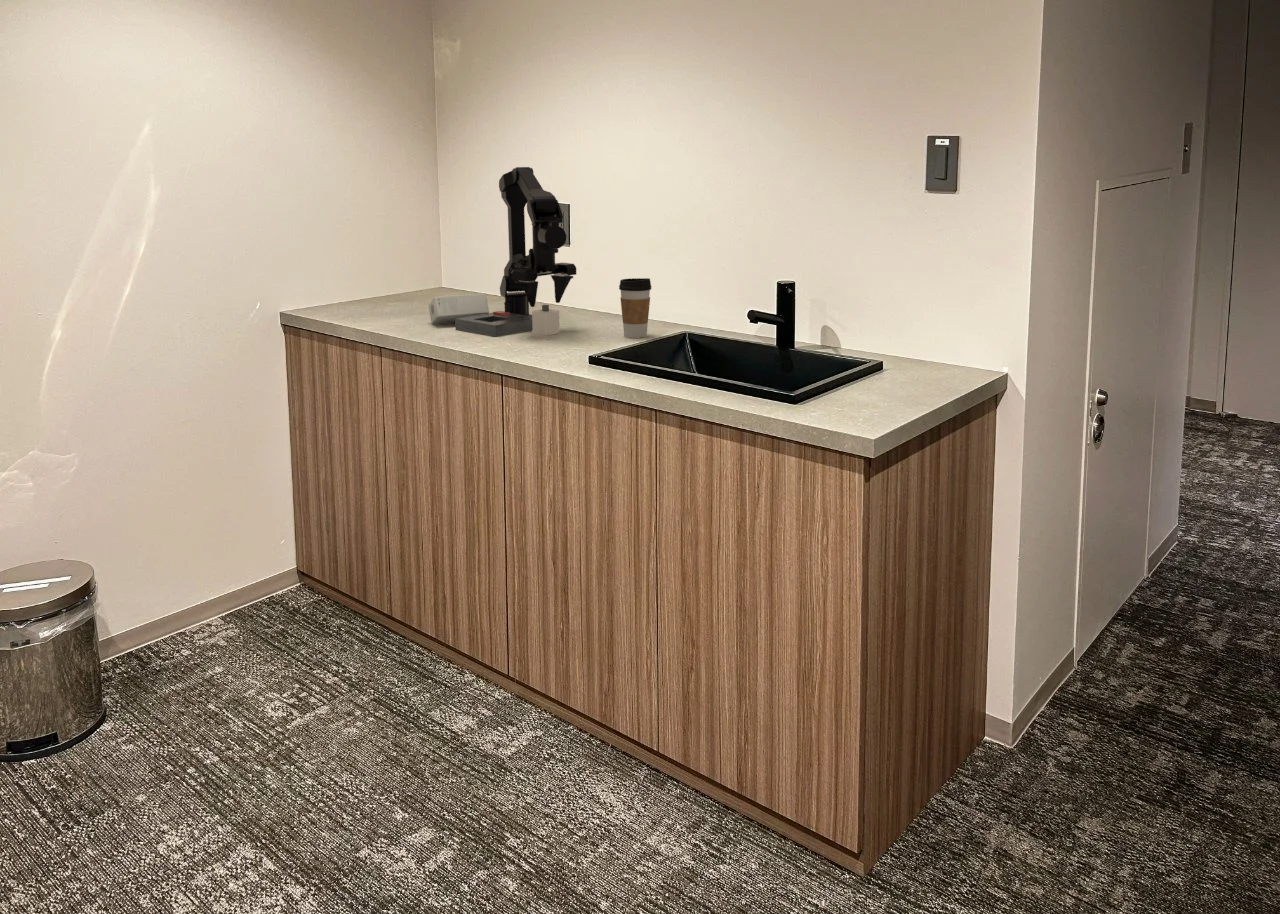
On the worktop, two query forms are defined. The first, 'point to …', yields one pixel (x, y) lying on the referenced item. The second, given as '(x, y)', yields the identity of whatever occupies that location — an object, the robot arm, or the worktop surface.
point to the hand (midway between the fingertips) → (545, 304)
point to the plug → (545, 321)
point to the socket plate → (495, 323)
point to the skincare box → (457, 307)
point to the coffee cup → (635, 306)
